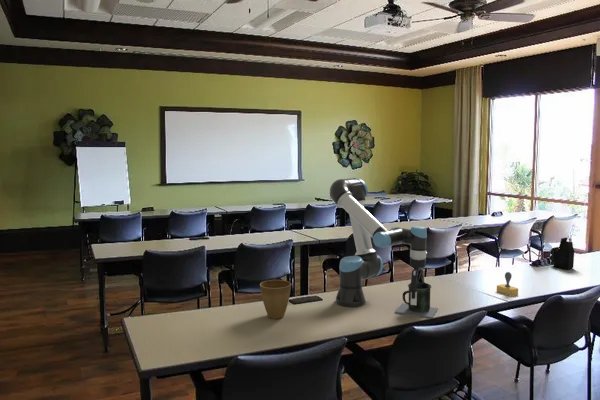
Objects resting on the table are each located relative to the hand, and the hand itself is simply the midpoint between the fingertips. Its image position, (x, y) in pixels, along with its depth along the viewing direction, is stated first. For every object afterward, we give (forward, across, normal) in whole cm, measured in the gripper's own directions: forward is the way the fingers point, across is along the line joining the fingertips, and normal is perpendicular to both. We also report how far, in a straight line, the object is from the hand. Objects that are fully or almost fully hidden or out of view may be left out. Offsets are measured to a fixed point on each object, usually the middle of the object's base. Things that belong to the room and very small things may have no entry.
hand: (416, 300), depth 246 cm
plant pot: (+6, -36, +59) cm, 69 cm away
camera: (+6, +128, -66) cm, 144 cm away
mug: (+5, 0, 0) cm, 5 cm away
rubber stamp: (+6, +52, -38) cm, 65 cm away
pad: (+5, 0, 0) cm, 5 cm away
